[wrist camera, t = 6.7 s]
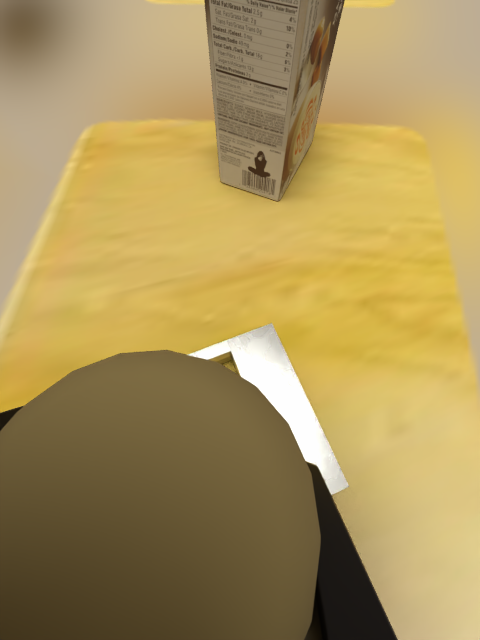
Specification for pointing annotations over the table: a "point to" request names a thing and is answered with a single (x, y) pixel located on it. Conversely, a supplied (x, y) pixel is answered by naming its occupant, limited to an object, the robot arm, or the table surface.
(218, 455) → the cork
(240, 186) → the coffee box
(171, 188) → the table surface
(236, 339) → the silver metal frame
